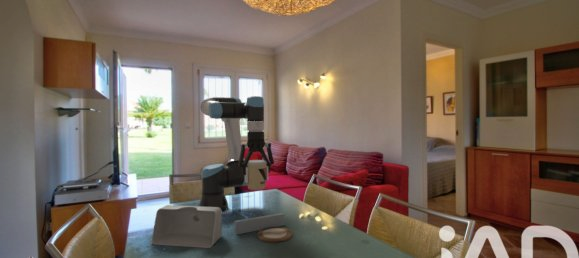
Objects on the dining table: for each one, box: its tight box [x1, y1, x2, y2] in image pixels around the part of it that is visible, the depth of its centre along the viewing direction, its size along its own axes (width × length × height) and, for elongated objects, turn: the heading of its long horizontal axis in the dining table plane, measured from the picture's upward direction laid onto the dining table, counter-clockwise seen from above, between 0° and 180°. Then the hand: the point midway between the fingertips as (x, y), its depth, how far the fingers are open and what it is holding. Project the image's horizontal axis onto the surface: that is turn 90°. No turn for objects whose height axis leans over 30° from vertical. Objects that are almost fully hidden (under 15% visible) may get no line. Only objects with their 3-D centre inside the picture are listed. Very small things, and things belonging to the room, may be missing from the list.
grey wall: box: [234, 212, 285, 235], centre depth 119 cm, size 2×22×5 cm, turn 116°
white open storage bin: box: [151, 204, 223, 249], centre depth 111 cm, size 25×16×12 cm, turn 81°
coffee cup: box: [246, 159, 267, 191], centre depth 124 cm, size 9×9×12 cm
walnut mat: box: [257, 226, 293, 244], centre depth 113 cm, size 14×14×1 cm
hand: (256, 181), depth 124 cm, fingers closed on coffee cup, 9 cm apart
